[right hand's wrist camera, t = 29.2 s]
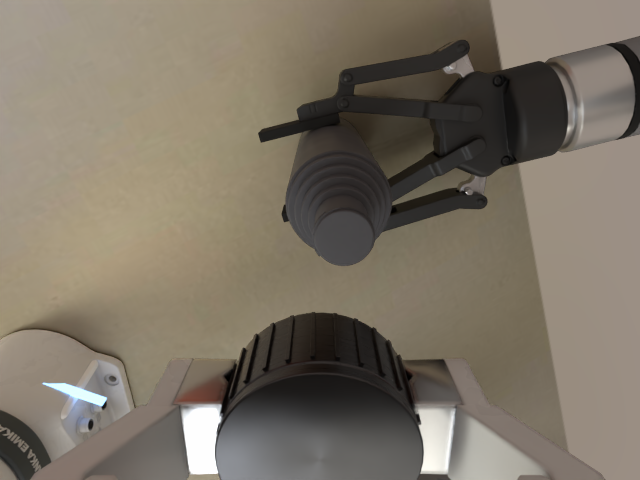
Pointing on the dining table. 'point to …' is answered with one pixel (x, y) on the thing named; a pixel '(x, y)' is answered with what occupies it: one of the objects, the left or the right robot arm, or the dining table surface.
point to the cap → (319, 406)
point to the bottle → (337, 194)
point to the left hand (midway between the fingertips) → (273, 175)
